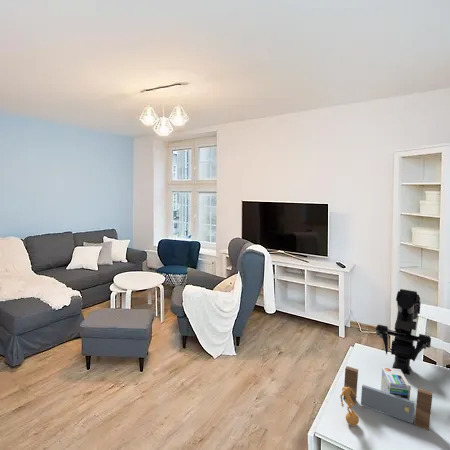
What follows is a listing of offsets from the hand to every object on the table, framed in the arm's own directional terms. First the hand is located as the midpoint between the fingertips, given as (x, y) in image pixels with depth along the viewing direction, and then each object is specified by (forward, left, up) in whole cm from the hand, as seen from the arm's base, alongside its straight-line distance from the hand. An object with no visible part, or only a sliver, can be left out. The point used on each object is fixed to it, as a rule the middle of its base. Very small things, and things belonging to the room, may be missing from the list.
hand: (399, 357), depth 124 cm
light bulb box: (+11, 0, -13) cm, 17 cm away
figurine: (+30, -11, -13) cm, 34 cm away
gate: (+19, -2, -12) cm, 23 cm away
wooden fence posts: (+18, -2, -13) cm, 22 cm away
